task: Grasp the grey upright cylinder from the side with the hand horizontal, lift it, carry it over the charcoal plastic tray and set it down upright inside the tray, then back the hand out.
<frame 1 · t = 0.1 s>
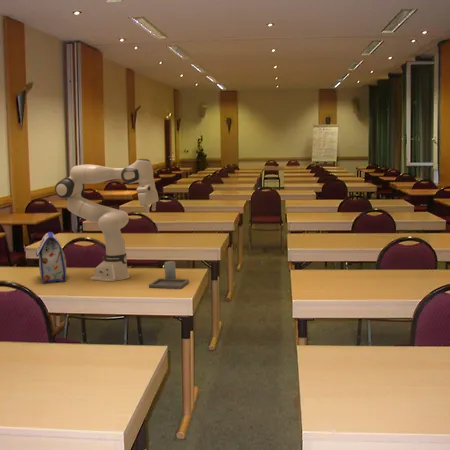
hand: (150, 211, 362), 39 cm above the table, tool pointing down, fingers open, 8 cm apart
grey upright cylinder: (170, 279, 365), on the table
lunch bag: (53, 279, 377), on the table
tray: (169, 285, 351), on the table
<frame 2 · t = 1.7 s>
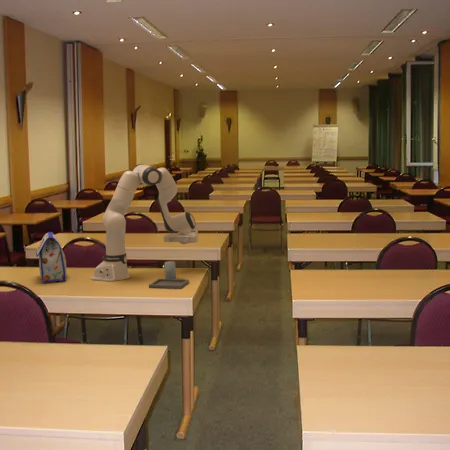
hand: (176, 240, 373), 20 cm above the table, tool horizontal, fingers open, 8 cm apart
nothing on the table moved.
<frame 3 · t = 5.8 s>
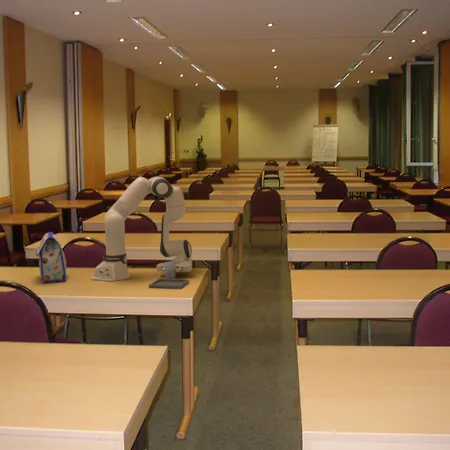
hand: (169, 270, 363), 6 cm above the table, tool horizontal, fingers closed on grey upright cylinder, 6 cm apart
grey upright cylinder: (170, 279, 365), on the table, touching gripper
everything else where it was.
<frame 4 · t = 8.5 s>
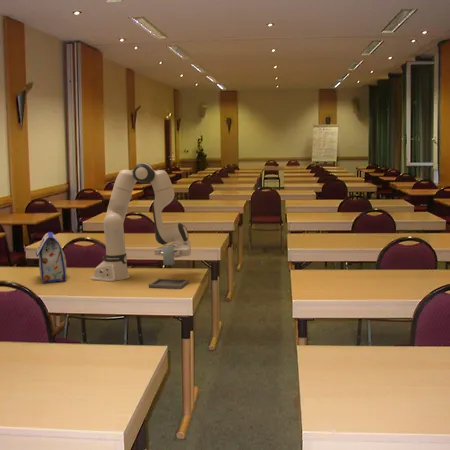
hand: (167, 254, 351), 17 cm above the table, tool horizontal, fingers closed on grey upright cylinder, 6 cm apart
grey upright cylinder: (169, 263, 353), point 11 cm above the table, touching gripper
everything else where it was.
when the fingers open (7 cm above the table, at t = 11.0 s): grey upright cylinder drops 1 cm, resting on tray.
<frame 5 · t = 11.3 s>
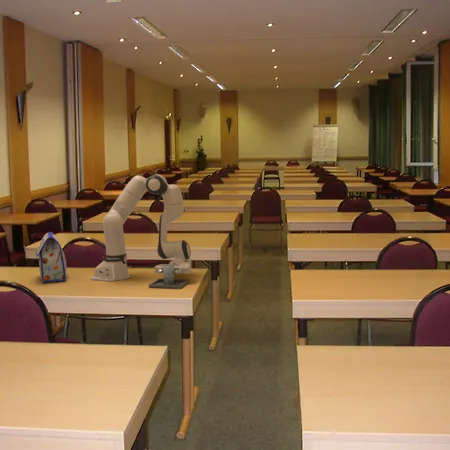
hand: (168, 272, 349), 7 cm above the table, tool horizontal, fingers open, 8 cm apart
grey upright cylinder: (169, 284, 351), point 1 cm above the table, touching tray
everything else where it was.
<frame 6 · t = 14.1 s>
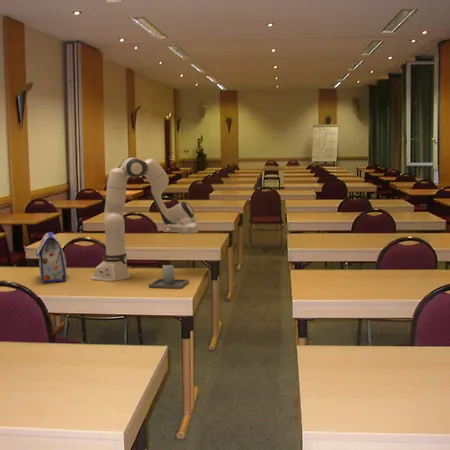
hand: (175, 230, 361), 28 cm above the table, tool horizontal, fingers open, 8 cm apart
nothing on the table moved.
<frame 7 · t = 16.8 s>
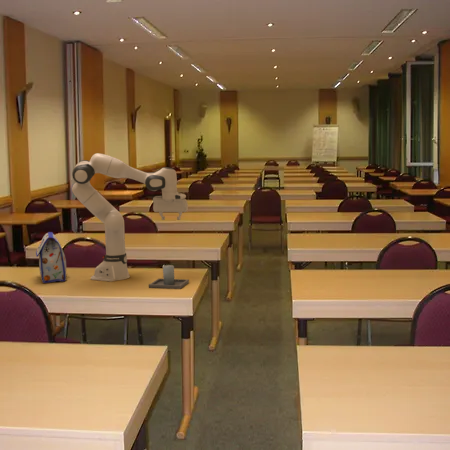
hand: (171, 219, 368), 33 cm above the table, tool pointing down, fingers open, 8 cm apart
nothing on the table moved.
at the end: grey upright cylinder inside the target area on the tray (0.0 cm from its centre), point 0.6 cm above the tray's base; grey upright cylinder tilted 0°; the gripper is holding nothing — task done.
